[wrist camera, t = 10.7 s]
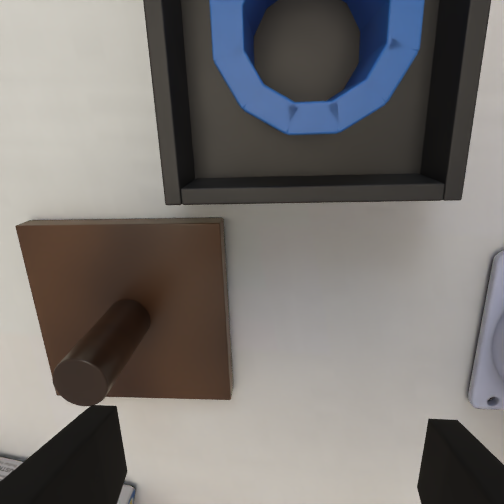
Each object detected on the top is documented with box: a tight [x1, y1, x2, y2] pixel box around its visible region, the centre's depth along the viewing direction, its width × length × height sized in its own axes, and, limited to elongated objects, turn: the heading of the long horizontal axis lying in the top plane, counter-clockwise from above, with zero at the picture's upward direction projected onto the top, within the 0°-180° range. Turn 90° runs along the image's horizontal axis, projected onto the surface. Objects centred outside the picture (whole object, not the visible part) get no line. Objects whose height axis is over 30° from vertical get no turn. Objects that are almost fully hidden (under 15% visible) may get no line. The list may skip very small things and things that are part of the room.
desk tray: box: [143, 0, 491, 205], centre depth 13 cm, size 10×10×3 cm
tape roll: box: [209, 0, 425, 135], centre depth 12 cm, size 6×6×4 cm
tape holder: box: [16, 218, 233, 406], centre depth 16 cm, size 9×9×6 cm
